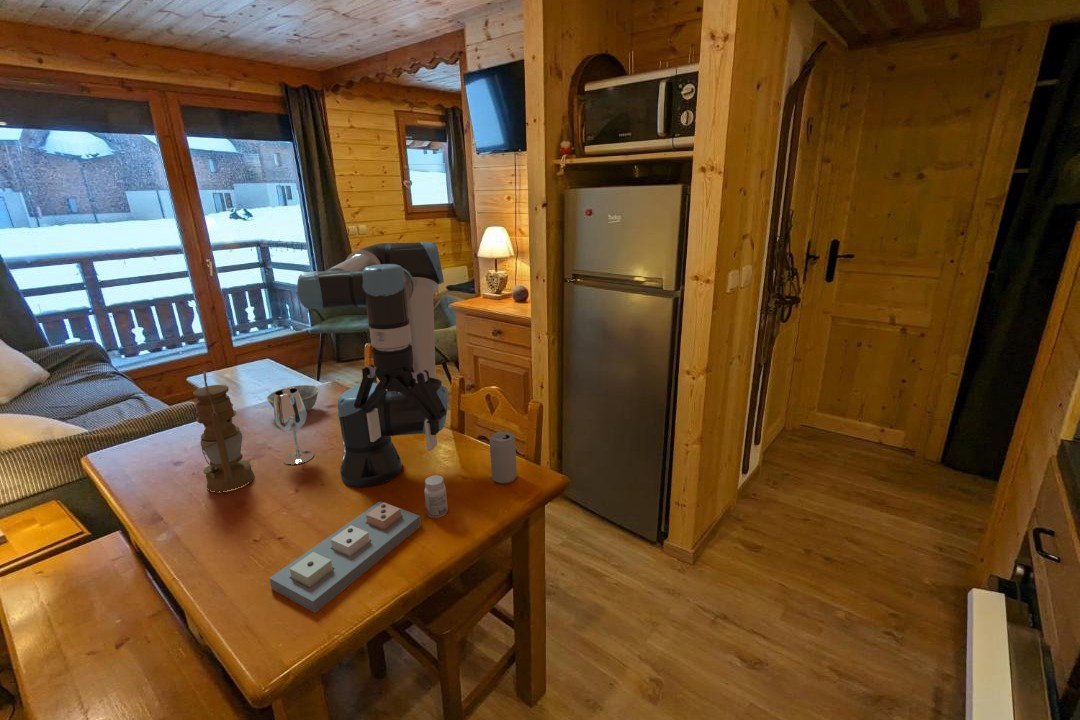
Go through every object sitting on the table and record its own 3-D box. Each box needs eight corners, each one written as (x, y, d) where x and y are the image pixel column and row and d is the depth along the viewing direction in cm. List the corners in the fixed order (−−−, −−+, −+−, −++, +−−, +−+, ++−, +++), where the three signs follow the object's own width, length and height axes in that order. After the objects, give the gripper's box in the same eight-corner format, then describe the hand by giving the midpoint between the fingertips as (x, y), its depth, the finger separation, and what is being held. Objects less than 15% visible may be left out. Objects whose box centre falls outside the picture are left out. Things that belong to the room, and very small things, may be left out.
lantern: (196, 481, 127) (167, 371, 118) (239, 464, 135) (215, 360, 125) (221, 501, 118) (191, 384, 109) (265, 482, 126) (241, 371, 117)
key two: (350, 558, 95) (348, 546, 95) (332, 550, 98) (330, 538, 97) (370, 543, 100) (368, 531, 99) (352, 536, 102) (350, 524, 101)
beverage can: (513, 486, 122) (511, 442, 118) (488, 484, 123) (486, 440, 119) (519, 473, 128) (518, 431, 124) (495, 470, 129) (493, 429, 125)
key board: (315, 613, 85) (312, 601, 84) (271, 589, 91) (269, 578, 90) (421, 525, 108) (419, 515, 107) (381, 510, 113) (379, 501, 112)
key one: (310, 589, 88) (307, 576, 87) (292, 580, 90) (289, 567, 89) (333, 572, 92) (330, 559, 91) (315, 563, 94) (313, 550, 93)
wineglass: (276, 462, 135) (262, 395, 129) (299, 449, 142) (287, 384, 136) (298, 467, 132) (284, 398, 126) (320, 454, 139) (308, 388, 133)
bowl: (259, 422, 161) (255, 401, 158) (290, 403, 176) (287, 383, 173) (304, 425, 158) (300, 403, 156) (331, 405, 173) (328, 385, 171)
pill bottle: (428, 506, 114) (424, 474, 112) (448, 505, 115) (446, 473, 112) (425, 519, 110) (421, 486, 107) (447, 517, 110) (444, 485, 108)
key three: (384, 532, 103) (383, 520, 102) (367, 525, 105) (365, 513, 104) (401, 519, 107) (400, 507, 106) (384, 512, 109) (383, 501, 108)
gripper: (325, 346, 96) (341, 443, 103) (439, 356, 89) (448, 461, 95) (351, 336, 103) (364, 427, 110) (458, 345, 95) (465, 443, 102)
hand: (403, 443), depth 102 cm, fingers open, 13 cm apart
